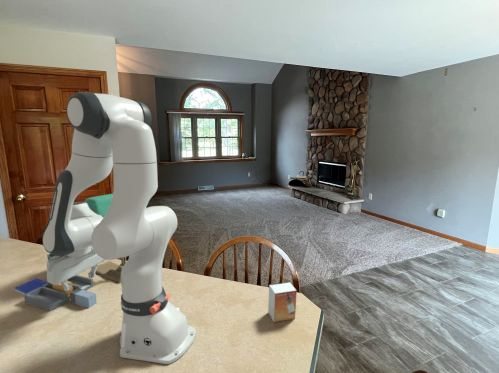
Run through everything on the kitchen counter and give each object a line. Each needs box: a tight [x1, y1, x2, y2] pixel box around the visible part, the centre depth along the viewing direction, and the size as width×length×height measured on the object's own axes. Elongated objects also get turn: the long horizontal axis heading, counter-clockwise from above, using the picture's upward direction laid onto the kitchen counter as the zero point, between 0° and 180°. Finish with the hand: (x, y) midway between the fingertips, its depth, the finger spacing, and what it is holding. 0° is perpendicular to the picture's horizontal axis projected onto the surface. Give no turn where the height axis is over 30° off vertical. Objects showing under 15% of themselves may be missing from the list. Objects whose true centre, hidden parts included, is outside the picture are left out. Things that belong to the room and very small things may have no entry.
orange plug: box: [47, 281, 73, 295], centre depth 102 cm, size 9×3×4 cm, turn 70°
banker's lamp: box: [83, 193, 127, 284], centre depth 117 cm, size 16×21×35 cm
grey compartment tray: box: [23, 274, 94, 312], centre depth 102 cm, size 13×17×3 cm
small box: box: [267, 282, 298, 323], centre depth 91 cm, size 8×6×10 cm
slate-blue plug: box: [70, 288, 98, 309], centre depth 97 cm, size 9×3×4 cm, turn 70°
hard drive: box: [13, 278, 48, 295], centre depth 106 cm, size 2×8×12 cm
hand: (80, 283), depth 97 cm, fingers open, 8 cm apart
